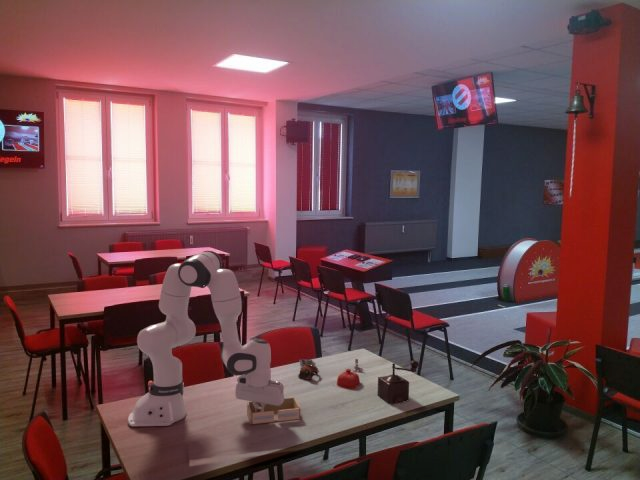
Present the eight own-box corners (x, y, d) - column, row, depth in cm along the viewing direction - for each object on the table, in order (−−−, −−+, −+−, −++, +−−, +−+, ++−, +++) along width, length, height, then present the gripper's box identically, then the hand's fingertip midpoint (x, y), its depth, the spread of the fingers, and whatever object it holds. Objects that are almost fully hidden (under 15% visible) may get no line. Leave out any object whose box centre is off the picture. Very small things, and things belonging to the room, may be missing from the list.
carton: (250, 424, 194) (250, 412, 194) (246, 413, 204) (246, 401, 203) (299, 419, 200) (300, 407, 199) (294, 408, 209) (294, 397, 209)
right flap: (278, 421, 196) (278, 411, 195) (277, 420, 196) (277, 410, 196) (300, 418, 198) (300, 408, 198) (300, 418, 199) (300, 408, 199)
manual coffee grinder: (389, 406, 213) (390, 366, 211) (376, 397, 223) (377, 358, 221) (419, 401, 219) (421, 361, 217) (406, 392, 229) (407, 354, 227)
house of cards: (368, 378, 247) (369, 363, 246) (351, 377, 248) (351, 362, 247) (369, 372, 256) (370, 357, 255) (352, 370, 257) (353, 356, 256)
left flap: (250, 424, 193) (250, 413, 192) (250, 423, 194) (250, 413, 193) (274, 421, 195) (274, 411, 195) (273, 421, 196) (273, 410, 196)
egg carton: (316, 371, 251) (316, 363, 251) (302, 373, 250) (301, 365, 250) (313, 364, 262) (312, 356, 261) (299, 365, 261) (298, 358, 260)
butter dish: (331, 387, 233) (331, 370, 232) (342, 380, 243) (343, 363, 242) (353, 393, 228) (354, 375, 227) (364, 385, 238) (364, 367, 237)
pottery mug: (294, 377, 246) (300, 361, 248) (310, 384, 248) (316, 368, 250) (301, 380, 235) (308, 363, 237) (318, 387, 237) (325, 371, 239)
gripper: (286, 379, 198) (286, 413, 199) (241, 372, 204) (241, 405, 206) (280, 385, 192) (279, 419, 193) (233, 378, 198) (233, 411, 200)
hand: (259, 412), depth 199 cm, fingers closed
